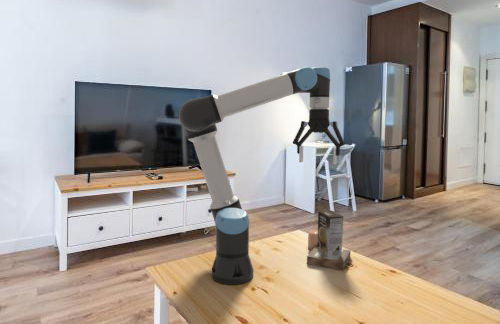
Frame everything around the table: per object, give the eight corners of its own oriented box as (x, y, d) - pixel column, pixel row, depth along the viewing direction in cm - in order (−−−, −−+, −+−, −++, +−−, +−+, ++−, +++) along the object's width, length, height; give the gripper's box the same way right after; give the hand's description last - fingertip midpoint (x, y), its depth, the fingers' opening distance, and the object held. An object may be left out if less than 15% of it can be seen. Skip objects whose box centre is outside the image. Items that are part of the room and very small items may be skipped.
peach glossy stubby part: (305, 249, 154) (306, 234, 153) (310, 244, 160) (310, 229, 160) (322, 252, 151) (322, 236, 150) (325, 246, 157) (326, 231, 157)
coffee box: (316, 249, 145) (317, 210, 143) (330, 248, 147) (331, 209, 145) (327, 258, 137) (328, 217, 135) (342, 256, 139) (344, 215, 137)
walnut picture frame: (306, 263, 139) (307, 255, 139) (316, 251, 152) (316, 244, 151) (343, 270, 133) (343, 262, 133) (350, 257, 146) (350, 249, 145)
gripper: (285, 108, 140) (284, 162, 143) (350, 108, 130) (348, 166, 132) (291, 109, 147) (290, 160, 150) (353, 108, 136) (351, 163, 139)
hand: (317, 163), depth 141 cm, fingers open, 13 cm apart
